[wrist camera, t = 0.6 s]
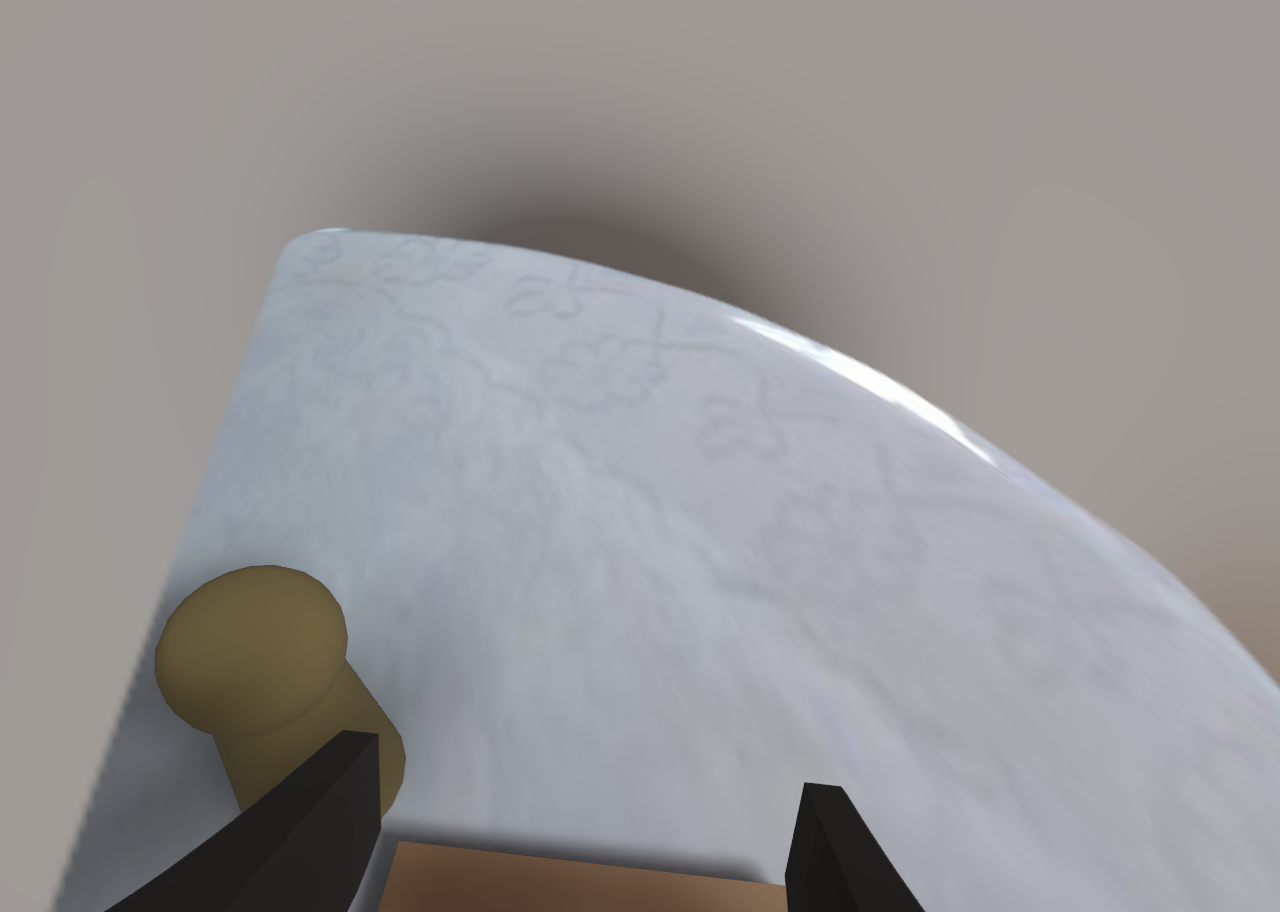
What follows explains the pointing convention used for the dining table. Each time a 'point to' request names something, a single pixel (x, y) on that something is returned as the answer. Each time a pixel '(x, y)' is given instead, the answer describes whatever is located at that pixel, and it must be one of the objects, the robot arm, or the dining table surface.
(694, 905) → the holder
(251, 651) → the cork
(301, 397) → the dining table surface
